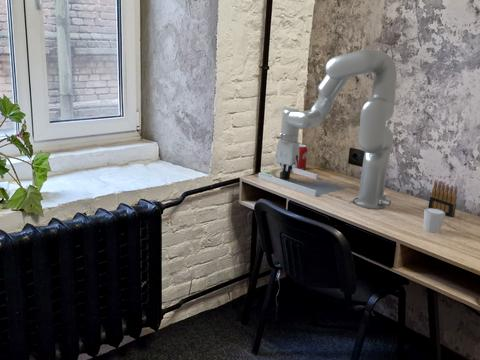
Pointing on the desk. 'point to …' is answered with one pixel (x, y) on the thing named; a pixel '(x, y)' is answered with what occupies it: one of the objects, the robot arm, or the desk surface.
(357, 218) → the desk surface
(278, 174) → the wooden block
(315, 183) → the box
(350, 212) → the desk surface
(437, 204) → the ammunition clip
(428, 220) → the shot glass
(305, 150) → the beverage can
